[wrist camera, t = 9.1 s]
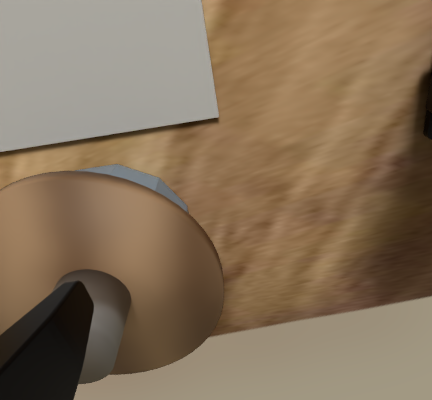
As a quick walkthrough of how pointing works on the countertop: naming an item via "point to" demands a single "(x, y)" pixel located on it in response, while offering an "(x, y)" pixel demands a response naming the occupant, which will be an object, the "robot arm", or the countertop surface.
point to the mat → (100, 68)
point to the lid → (111, 266)
